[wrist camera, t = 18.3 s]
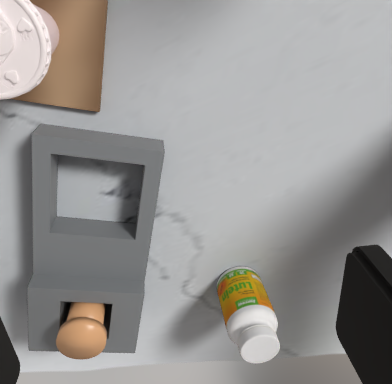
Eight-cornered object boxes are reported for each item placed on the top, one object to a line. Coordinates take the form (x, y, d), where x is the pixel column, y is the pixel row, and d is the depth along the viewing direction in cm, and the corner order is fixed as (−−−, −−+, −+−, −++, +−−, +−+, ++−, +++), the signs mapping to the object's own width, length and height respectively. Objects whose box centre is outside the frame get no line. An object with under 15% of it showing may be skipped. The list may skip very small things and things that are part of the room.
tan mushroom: (113, 276, 40) (107, 326, 34) (110, 308, 42) (104, 359, 36) (70, 274, 39) (56, 324, 33) (69, 306, 41) (55, 358, 35)
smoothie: (83, 3, 28) (34, -1, 16) (69, 84, 30) (16, 136, 18) (-6, -28, 26) (-141, -61, 14) (-13, 60, 29) (-133, 99, 17)
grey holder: (163, 140, 34) (165, 160, 30) (135, 318, 44) (134, 353, 40) (40, 123, 32) (24, 142, 28) (40, 314, 42) (28, 350, 38)
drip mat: (110, -31, 28) (109, -32, 27) (100, 110, 32) (99, 112, 32) (-49, -66, 26) (-53, -68, 25) (-35, 90, 30) (-38, 91, 30)
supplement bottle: (245, 257, 42) (270, 321, 33) (267, 284, 44) (296, 350, 36) (207, 281, 43) (222, 349, 34) (231, 306, 45) (251, 376, 37)
